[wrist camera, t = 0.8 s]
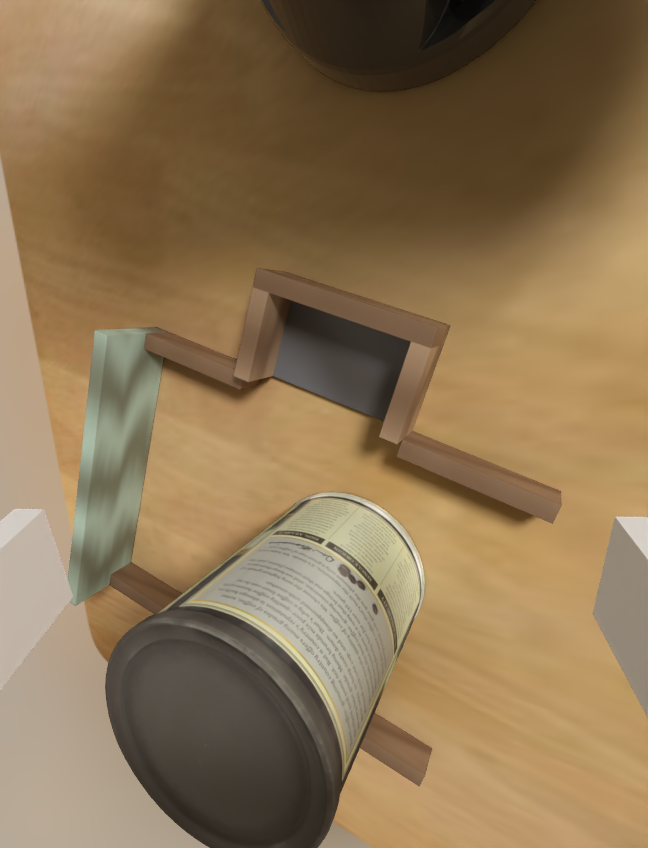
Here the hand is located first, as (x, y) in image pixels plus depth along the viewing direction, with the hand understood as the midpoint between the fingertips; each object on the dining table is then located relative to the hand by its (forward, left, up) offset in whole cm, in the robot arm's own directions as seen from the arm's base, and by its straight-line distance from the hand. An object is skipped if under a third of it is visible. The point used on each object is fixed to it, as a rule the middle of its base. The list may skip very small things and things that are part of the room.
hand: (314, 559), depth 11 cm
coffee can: (+11, -2, -17) cm, 20 cm away
